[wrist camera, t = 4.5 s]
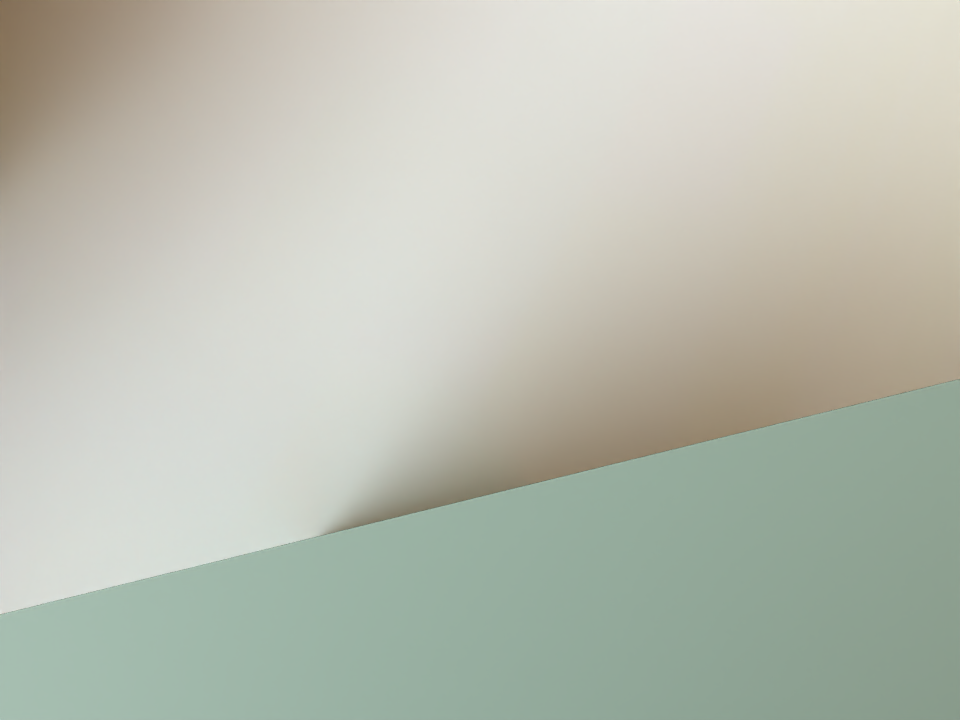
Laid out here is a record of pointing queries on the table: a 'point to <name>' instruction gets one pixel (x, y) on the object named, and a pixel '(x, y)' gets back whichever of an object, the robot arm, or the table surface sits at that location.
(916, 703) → the pillar
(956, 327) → the table surface
